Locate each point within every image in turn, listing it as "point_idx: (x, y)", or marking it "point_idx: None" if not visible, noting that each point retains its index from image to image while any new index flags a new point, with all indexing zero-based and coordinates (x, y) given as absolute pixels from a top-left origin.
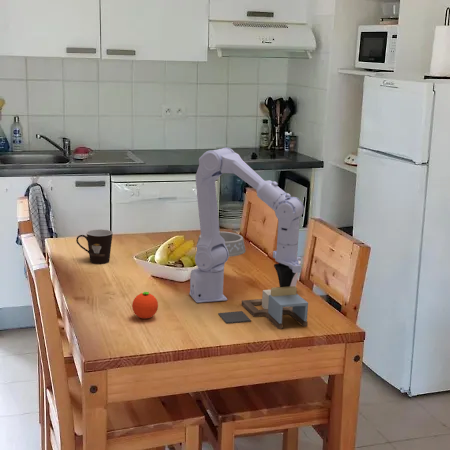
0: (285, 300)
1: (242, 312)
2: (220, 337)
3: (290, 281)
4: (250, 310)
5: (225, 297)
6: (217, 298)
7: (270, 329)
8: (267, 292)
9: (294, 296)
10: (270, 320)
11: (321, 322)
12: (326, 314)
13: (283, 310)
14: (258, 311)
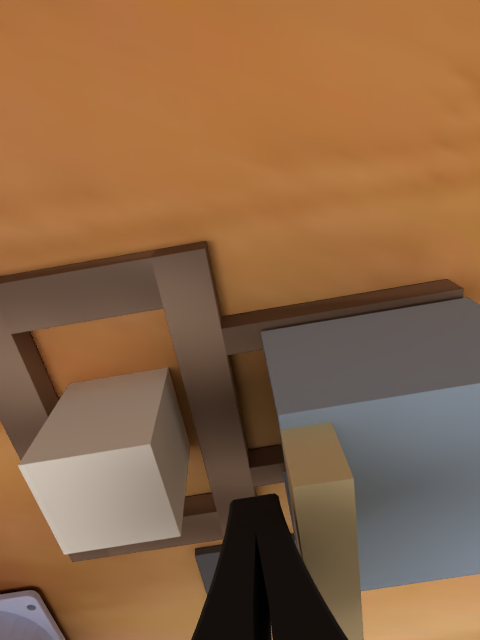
0: (455, 523)
1: (215, 556)
2: (454, 627)
3: (310, 588)
4: (211, 535)
5: (11, 602)
6: (41, 632)
7: None
8: (114, 535)
9: (380, 446)
10: None
11: (408, 156)
12: (251, 49)
13: (233, 390)
14: None
